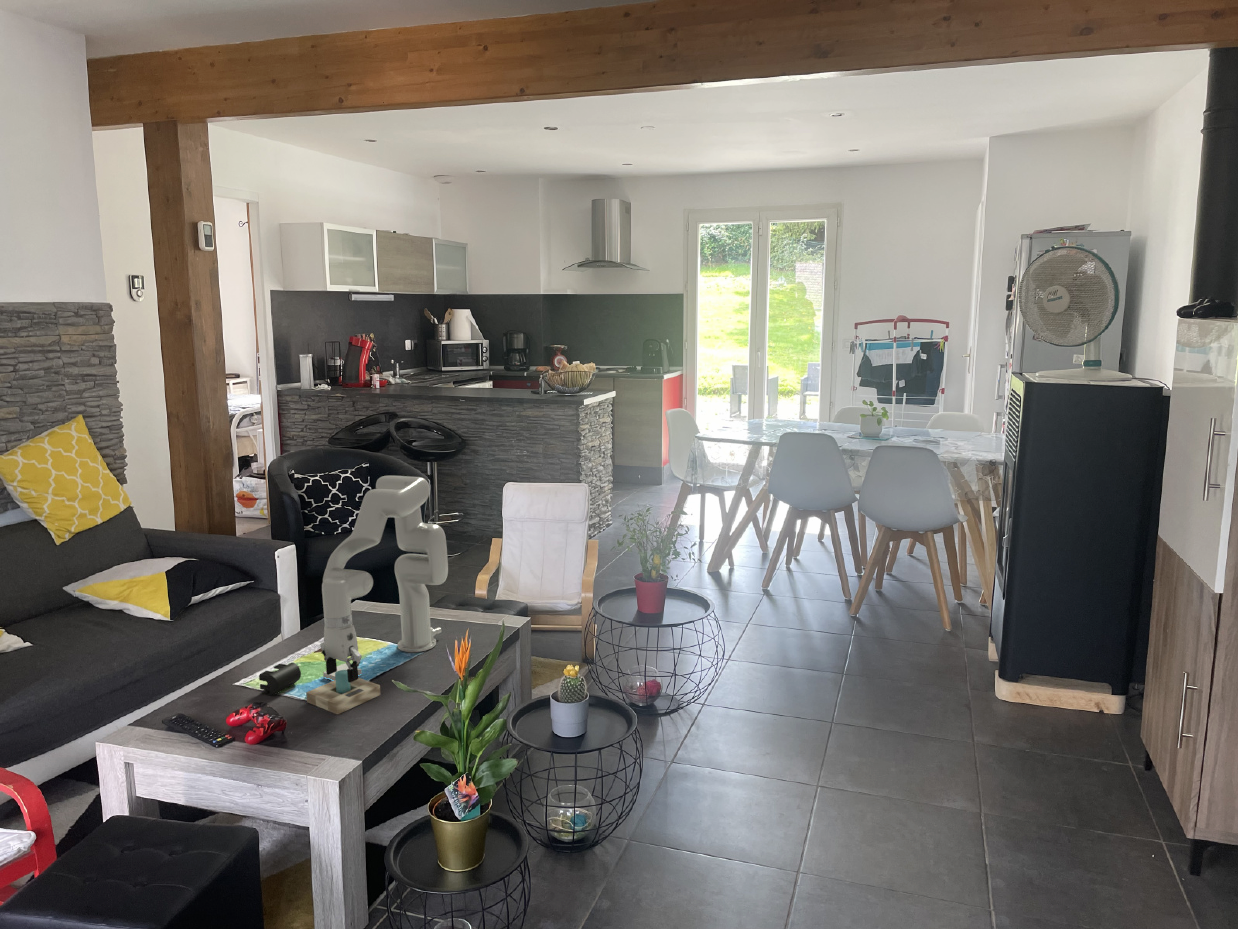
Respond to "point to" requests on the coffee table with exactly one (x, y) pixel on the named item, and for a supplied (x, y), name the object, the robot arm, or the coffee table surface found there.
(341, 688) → the teal peg
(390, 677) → the coffee table surface
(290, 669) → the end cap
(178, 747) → the coffee table surface
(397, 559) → the robot arm
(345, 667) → the light grey square slab
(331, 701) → the plate
